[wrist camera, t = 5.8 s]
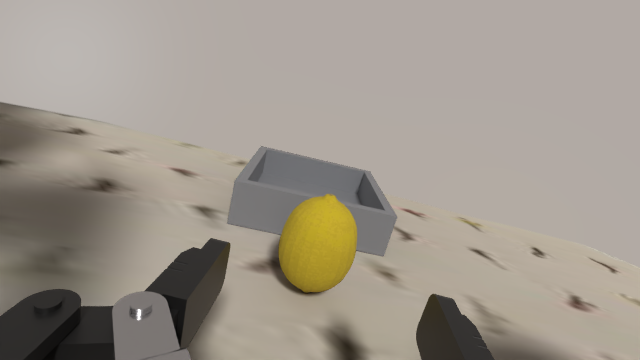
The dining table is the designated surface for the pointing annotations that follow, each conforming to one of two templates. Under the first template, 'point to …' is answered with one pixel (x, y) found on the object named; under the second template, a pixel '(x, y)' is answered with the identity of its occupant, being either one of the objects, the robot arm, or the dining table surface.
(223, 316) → the dining table surface
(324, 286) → the lemon
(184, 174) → the dining table surface
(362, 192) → the bin
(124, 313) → the robot arm
